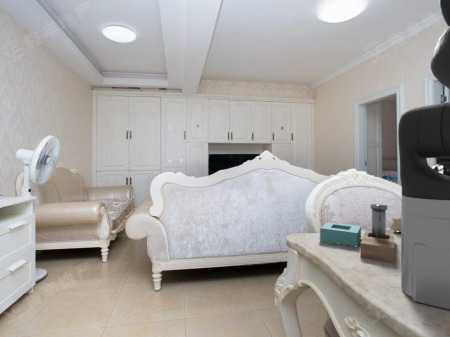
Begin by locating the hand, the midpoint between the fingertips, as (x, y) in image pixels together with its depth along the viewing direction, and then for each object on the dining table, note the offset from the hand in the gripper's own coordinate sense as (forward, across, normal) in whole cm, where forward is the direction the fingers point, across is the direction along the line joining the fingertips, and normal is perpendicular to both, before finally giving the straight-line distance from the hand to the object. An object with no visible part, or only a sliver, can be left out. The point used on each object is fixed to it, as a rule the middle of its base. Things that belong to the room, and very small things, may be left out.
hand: (417, 195), depth 68 cm
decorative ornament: (+6, -19, +15) cm, 25 cm away
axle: (+18, 0, +3) cm, 18 cm away
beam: (+18, 0, +3) cm, 18 cm away
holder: (+23, -8, -2) cm, 24 cm away
